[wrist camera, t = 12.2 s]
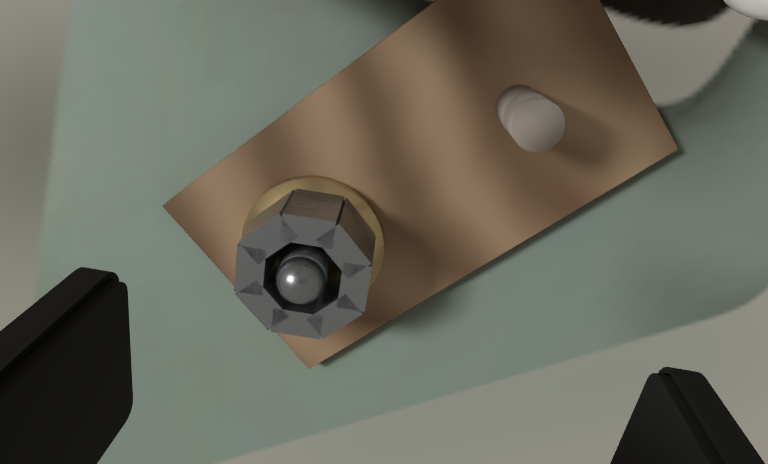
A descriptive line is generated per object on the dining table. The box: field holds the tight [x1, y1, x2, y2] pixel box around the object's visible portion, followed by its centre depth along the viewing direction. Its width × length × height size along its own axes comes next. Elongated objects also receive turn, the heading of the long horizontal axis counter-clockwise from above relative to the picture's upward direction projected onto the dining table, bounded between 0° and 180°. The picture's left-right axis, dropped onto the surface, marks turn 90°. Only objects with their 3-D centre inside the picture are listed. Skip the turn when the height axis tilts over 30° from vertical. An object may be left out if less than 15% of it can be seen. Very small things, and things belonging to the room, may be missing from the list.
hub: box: [242, 175, 385, 304], centre depth 31 cm, size 8×8×6 cm
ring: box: [234, 189, 376, 339], centre depth 31 cm, size 7×7×4 cm
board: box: [163, 0, 678, 369], centre depth 30 cm, size 26×14×6 cm, turn 125°
